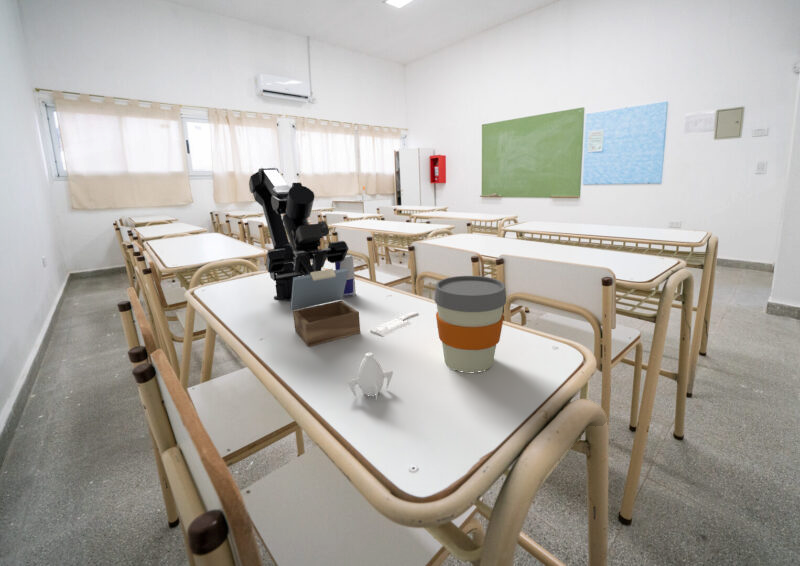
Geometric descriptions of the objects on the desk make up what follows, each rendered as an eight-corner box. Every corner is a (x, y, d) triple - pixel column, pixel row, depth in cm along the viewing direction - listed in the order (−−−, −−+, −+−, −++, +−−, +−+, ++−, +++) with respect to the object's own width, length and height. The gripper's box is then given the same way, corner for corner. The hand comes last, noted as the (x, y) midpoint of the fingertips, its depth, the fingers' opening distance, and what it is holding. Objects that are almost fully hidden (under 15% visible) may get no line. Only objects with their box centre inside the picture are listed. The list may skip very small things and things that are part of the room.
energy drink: (334, 297, 109) (330, 257, 106) (343, 291, 114) (340, 253, 110) (350, 298, 107) (347, 258, 104) (358, 293, 112) (356, 254, 108)
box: (295, 331, 86) (292, 311, 84) (342, 319, 92) (341, 300, 90) (308, 346, 77) (306, 324, 76) (360, 332, 83) (358, 312, 82)
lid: (293, 314, 83) (290, 307, 85) (343, 303, 90) (340, 296, 91) (296, 282, 76) (293, 274, 77) (351, 272, 82) (347, 265, 83)
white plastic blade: (428, 319, 91) (428, 315, 91) (385, 339, 81) (384, 335, 80) (413, 314, 94) (413, 310, 94) (369, 333, 84) (369, 328, 84)
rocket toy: (365, 382, 63) (362, 340, 61) (393, 388, 61) (391, 345, 59) (348, 399, 59) (344, 354, 57) (378, 406, 57) (375, 360, 54)
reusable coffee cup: (433, 346, 75) (432, 276, 71) (494, 345, 75) (497, 274, 71) (437, 379, 63) (436, 297, 59) (511, 378, 63) (515, 295, 59)
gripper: (261, 213, 78) (281, 274, 73) (342, 207, 88) (365, 260, 82) (258, 244, 87) (276, 301, 81) (332, 235, 96) (353, 285, 91)
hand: (319, 286), depth 84 cm, fingers closed, pressing on lid
